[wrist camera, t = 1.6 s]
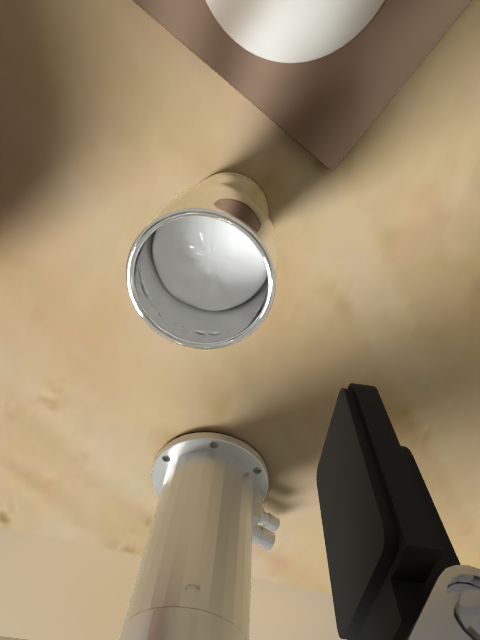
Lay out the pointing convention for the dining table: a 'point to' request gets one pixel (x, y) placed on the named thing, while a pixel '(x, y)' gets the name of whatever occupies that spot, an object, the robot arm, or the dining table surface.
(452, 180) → the dining table surface
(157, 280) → the silver metal tumbler
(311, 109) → the walnut board
